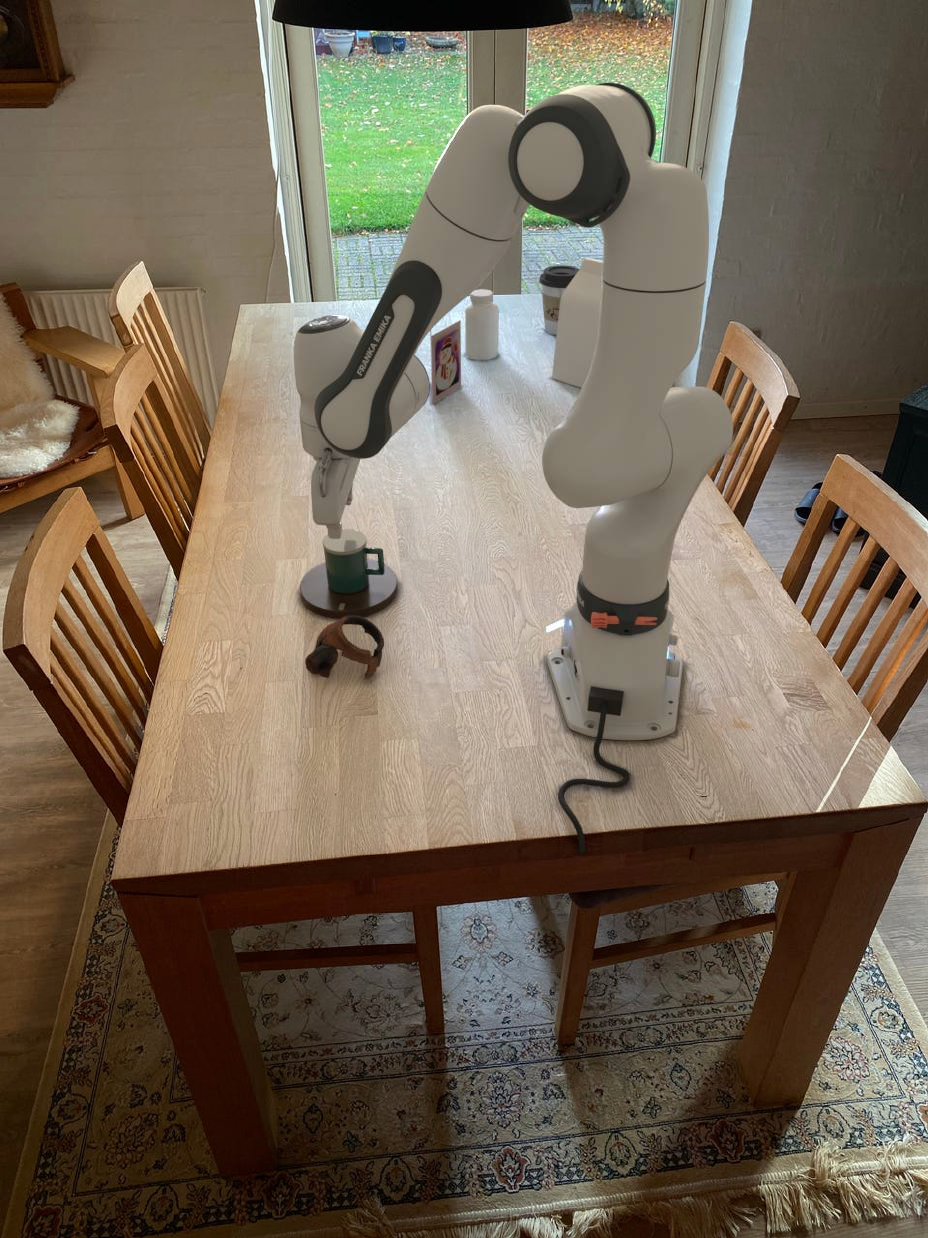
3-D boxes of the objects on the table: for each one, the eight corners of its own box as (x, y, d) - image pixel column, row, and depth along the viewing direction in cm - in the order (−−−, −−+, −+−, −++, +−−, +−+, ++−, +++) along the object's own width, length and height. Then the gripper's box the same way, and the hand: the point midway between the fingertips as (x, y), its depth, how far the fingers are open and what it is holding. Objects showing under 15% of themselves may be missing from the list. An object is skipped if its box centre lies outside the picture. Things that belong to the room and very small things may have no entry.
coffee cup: (533, 336, 236) (535, 275, 227) (540, 321, 245) (543, 262, 236) (578, 339, 234) (582, 278, 225) (583, 324, 243) (588, 265, 234)
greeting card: (436, 404, 203) (435, 336, 194) (408, 397, 206) (405, 330, 197) (464, 386, 210) (463, 320, 202) (436, 380, 214) (435, 314, 205)
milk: (551, 378, 214) (557, 261, 199) (581, 364, 221) (589, 249, 206) (594, 391, 208) (604, 271, 192) (624, 376, 214) (635, 259, 199)
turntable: (391, 621, 139) (390, 612, 139) (291, 617, 140) (290, 609, 139) (402, 565, 152) (402, 557, 151) (311, 563, 152) (310, 555, 151)
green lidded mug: (382, 595, 142) (379, 552, 137) (323, 593, 142) (318, 551, 138) (388, 571, 147) (385, 529, 143) (331, 569, 148) (326, 528, 143)
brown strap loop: (333, 639, 137) (357, 601, 132) (376, 684, 135) (403, 647, 130) (277, 665, 127) (302, 625, 122) (324, 715, 125) (351, 676, 121)
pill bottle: (461, 359, 224) (460, 296, 215) (470, 347, 230) (470, 285, 221) (493, 362, 222) (493, 299, 213) (501, 350, 228) (503, 288, 219)
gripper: (343, 470, 122) (350, 558, 130) (366, 403, 138) (371, 486, 146) (295, 468, 122) (306, 557, 130) (324, 402, 138) (331, 484, 147)
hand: (341, 519), depth 139 cm, fingers open, 8 cm apart
